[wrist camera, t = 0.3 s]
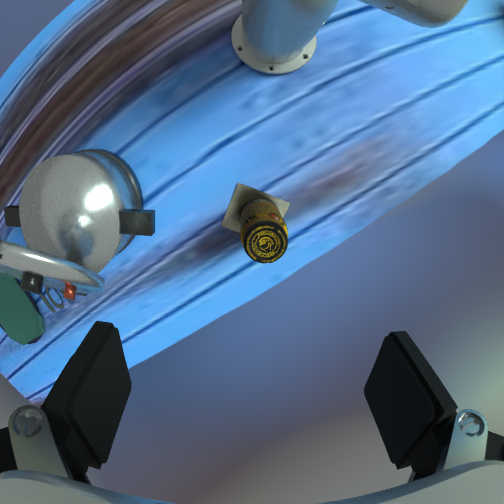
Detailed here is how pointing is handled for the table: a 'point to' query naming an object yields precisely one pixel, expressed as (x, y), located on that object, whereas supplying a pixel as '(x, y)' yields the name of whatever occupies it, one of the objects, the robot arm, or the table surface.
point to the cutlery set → (21, 311)
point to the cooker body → (82, 208)
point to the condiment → (258, 223)
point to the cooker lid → (47, 271)
